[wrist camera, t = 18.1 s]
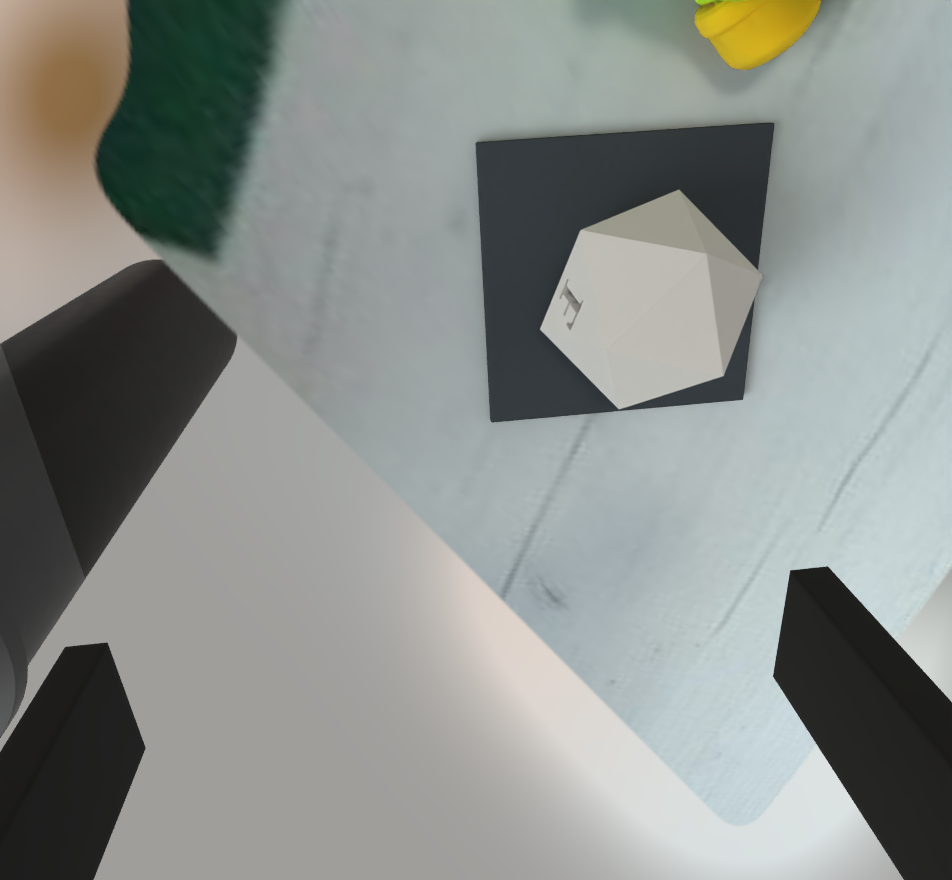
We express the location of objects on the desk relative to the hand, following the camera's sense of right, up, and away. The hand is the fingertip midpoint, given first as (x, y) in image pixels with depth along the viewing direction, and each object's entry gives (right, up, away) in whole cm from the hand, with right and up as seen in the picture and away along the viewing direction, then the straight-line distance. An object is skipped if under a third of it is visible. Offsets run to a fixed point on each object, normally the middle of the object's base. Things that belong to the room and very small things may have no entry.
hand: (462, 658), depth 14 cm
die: (+8, +12, +22) cm, 26 cm away
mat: (+8, +12, +22) cm, 27 cm away
